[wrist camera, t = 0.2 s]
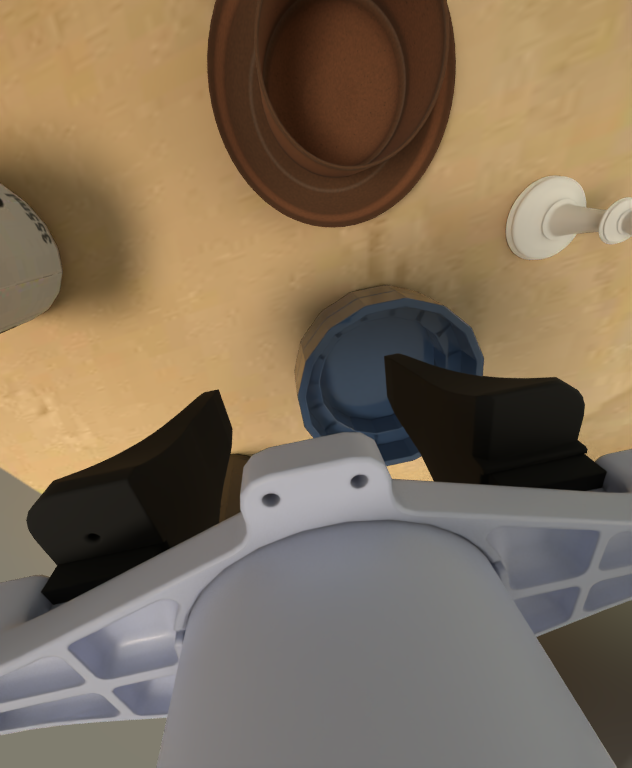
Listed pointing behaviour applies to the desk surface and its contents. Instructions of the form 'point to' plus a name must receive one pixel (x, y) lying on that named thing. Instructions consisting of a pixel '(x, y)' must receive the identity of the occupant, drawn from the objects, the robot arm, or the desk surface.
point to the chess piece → (561, 218)
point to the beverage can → (25, 263)
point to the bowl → (375, 362)
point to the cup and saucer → (331, 100)
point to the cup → (232, 487)
